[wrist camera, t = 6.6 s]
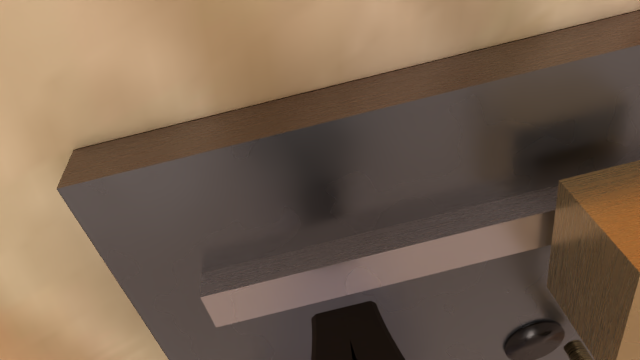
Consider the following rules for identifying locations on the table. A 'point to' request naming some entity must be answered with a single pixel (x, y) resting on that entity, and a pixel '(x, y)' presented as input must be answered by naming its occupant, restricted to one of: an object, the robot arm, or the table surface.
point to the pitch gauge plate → (368, 203)
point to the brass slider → (599, 261)
